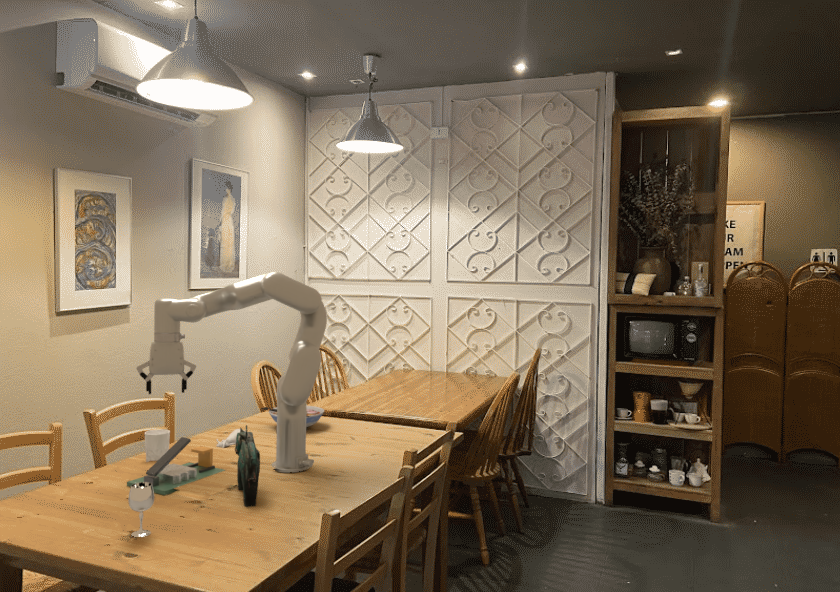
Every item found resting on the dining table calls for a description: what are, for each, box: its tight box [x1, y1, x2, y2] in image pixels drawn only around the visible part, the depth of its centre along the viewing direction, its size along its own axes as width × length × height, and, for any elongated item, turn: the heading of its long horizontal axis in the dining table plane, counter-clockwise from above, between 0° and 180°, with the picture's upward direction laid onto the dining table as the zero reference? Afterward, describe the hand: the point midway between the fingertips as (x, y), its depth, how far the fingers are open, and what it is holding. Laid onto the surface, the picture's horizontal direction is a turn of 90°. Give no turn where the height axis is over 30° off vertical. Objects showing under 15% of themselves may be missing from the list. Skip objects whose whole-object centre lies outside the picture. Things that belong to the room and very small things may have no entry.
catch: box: [190, 446, 214, 467], centre depth 207 cm, size 5×4×6 cm
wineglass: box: [127, 482, 155, 538], centre depth 157 cm, size 6×6×12 cm
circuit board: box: [126, 461, 226, 496], centre depth 198 cm, size 16×24×2 cm, turn 153°
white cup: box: [144, 428, 171, 463], centre depth 217 cm, size 8×8×10 cm
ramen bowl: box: [260, 405, 325, 428], centre depth 269 cm, size 25×23×8 cm
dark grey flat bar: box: [145, 436, 192, 477], centre depth 195 cm, size 4×16×1 cm, turn 153°
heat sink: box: [143, 463, 197, 487], centre depth 195 cm, size 12×14×2 cm
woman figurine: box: [215, 428, 246, 449], centre depth 242 cm, size 12×4×18 cm
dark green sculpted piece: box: [234, 424, 261, 508], centre depth 185 cm, size 20×6×20 cm, turn 21°
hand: (166, 392), depth 202 cm, fingers open, 9 cm apart
